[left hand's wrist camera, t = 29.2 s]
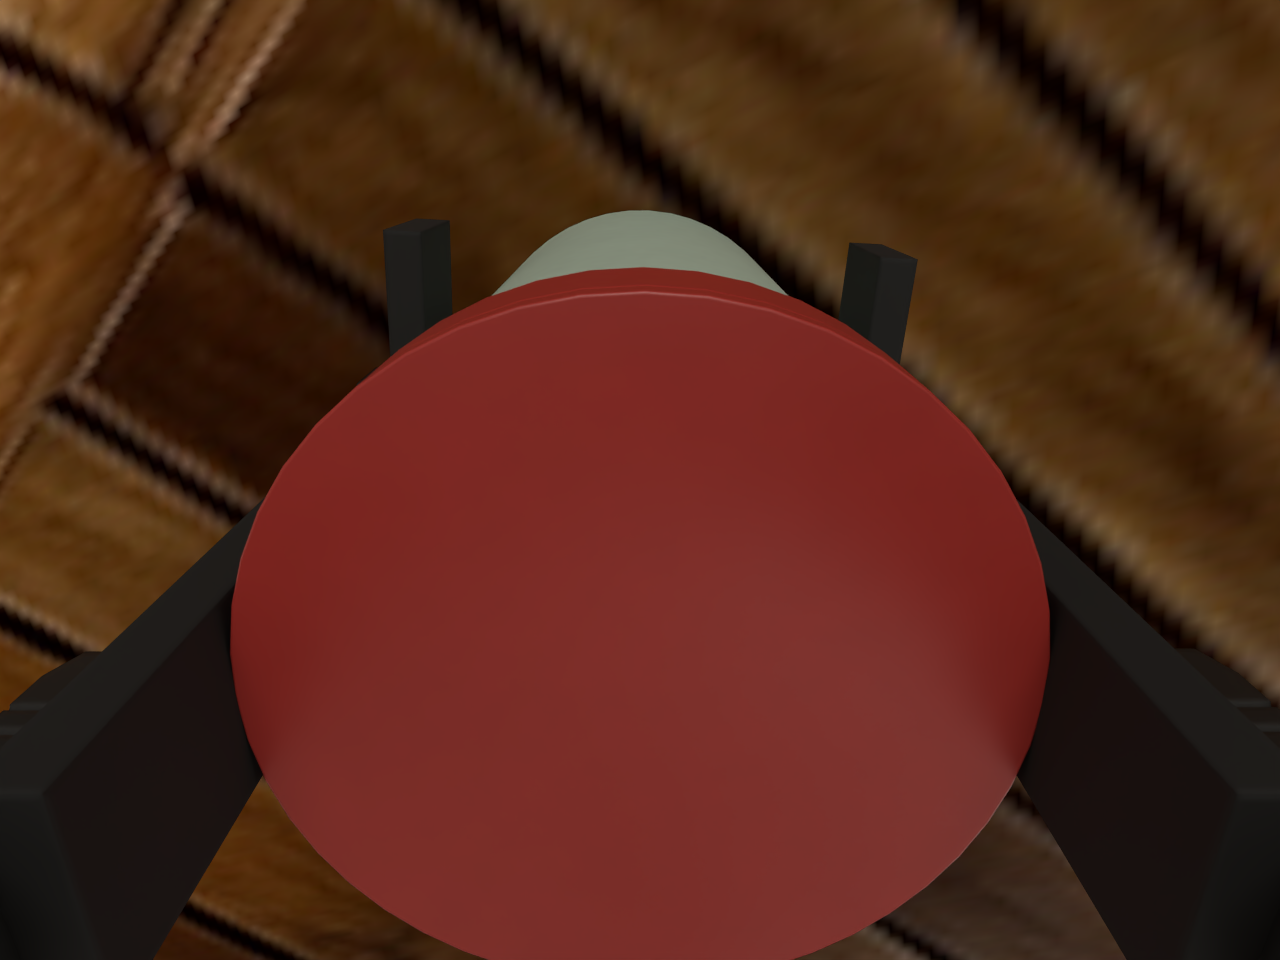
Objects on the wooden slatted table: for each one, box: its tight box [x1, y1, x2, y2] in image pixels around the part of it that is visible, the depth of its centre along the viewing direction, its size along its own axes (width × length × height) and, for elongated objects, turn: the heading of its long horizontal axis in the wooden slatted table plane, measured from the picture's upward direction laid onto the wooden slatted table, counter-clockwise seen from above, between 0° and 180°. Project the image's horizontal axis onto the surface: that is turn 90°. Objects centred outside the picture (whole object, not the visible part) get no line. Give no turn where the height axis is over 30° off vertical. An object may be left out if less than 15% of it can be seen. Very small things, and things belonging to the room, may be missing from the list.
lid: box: [230, 267, 1050, 960], centre depth 11 cm, size 10×10×2 cm
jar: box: [492, 211, 788, 296], centre depth 18 cm, size 9×9×16 cm
